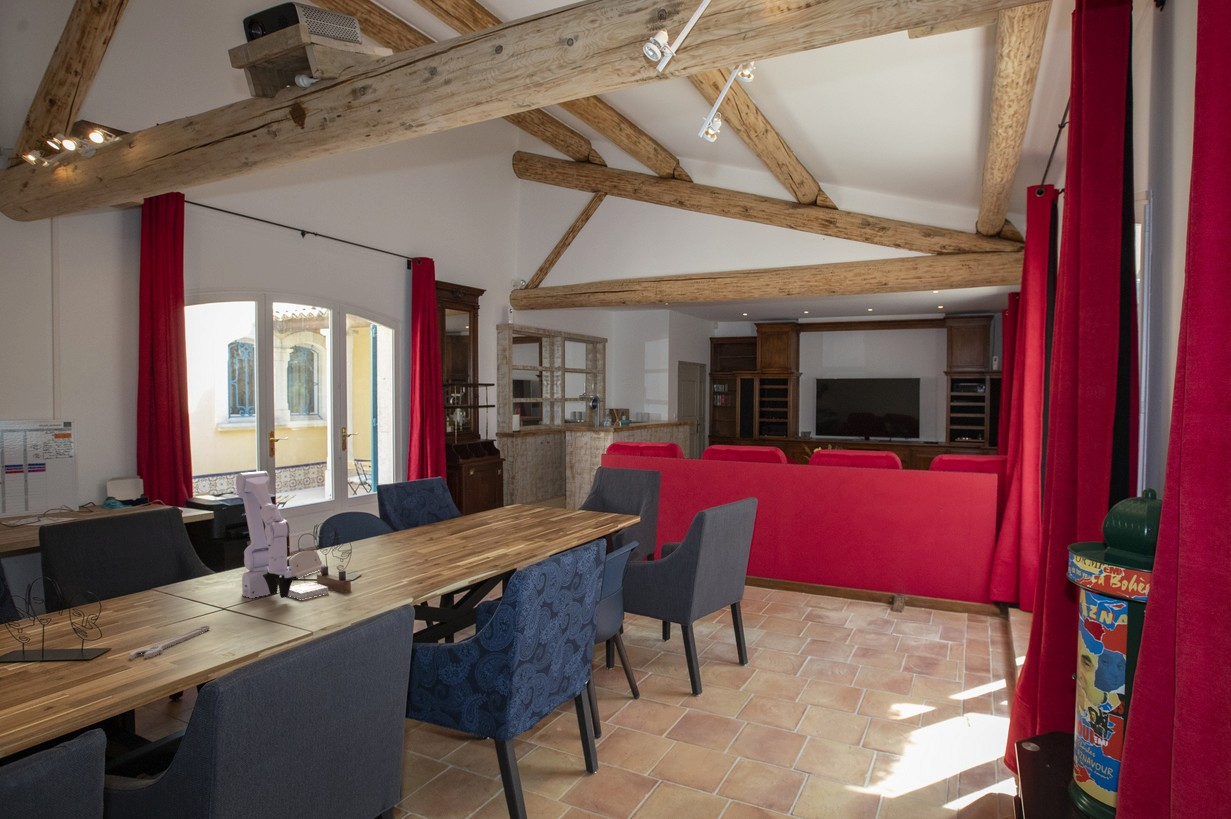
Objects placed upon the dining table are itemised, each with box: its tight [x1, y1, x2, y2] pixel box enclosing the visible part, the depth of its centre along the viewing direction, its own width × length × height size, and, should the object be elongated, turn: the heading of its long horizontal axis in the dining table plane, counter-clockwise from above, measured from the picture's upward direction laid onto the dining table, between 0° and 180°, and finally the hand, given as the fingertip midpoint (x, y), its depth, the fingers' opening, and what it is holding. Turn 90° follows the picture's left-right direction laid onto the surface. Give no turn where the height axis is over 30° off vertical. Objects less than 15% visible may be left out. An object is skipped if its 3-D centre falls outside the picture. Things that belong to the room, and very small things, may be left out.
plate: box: [288, 581, 329, 601], centre depth 251 cm, size 10×12×3 cm
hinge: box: [287, 550, 326, 579], centre depth 282 cm, size 17×5×10 cm, turn 164°
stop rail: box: [316, 565, 352, 593], centre depth 259 cm, size 3×18×7 cm, turn 52°
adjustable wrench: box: [129, 625, 211, 660], centre depth 202 cm, size 25×6×2 cm, turn 163°
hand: (278, 595), depth 243 cm, fingers open, 7 cm apart
